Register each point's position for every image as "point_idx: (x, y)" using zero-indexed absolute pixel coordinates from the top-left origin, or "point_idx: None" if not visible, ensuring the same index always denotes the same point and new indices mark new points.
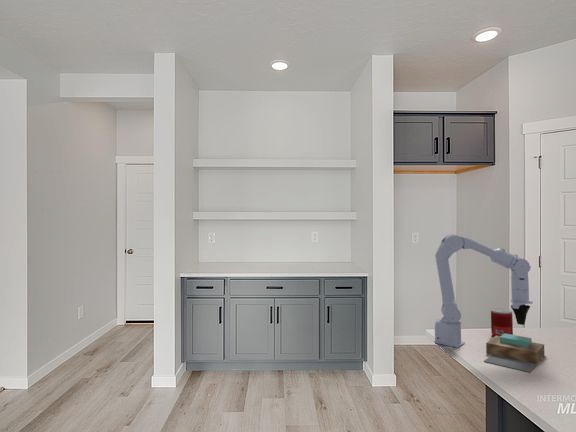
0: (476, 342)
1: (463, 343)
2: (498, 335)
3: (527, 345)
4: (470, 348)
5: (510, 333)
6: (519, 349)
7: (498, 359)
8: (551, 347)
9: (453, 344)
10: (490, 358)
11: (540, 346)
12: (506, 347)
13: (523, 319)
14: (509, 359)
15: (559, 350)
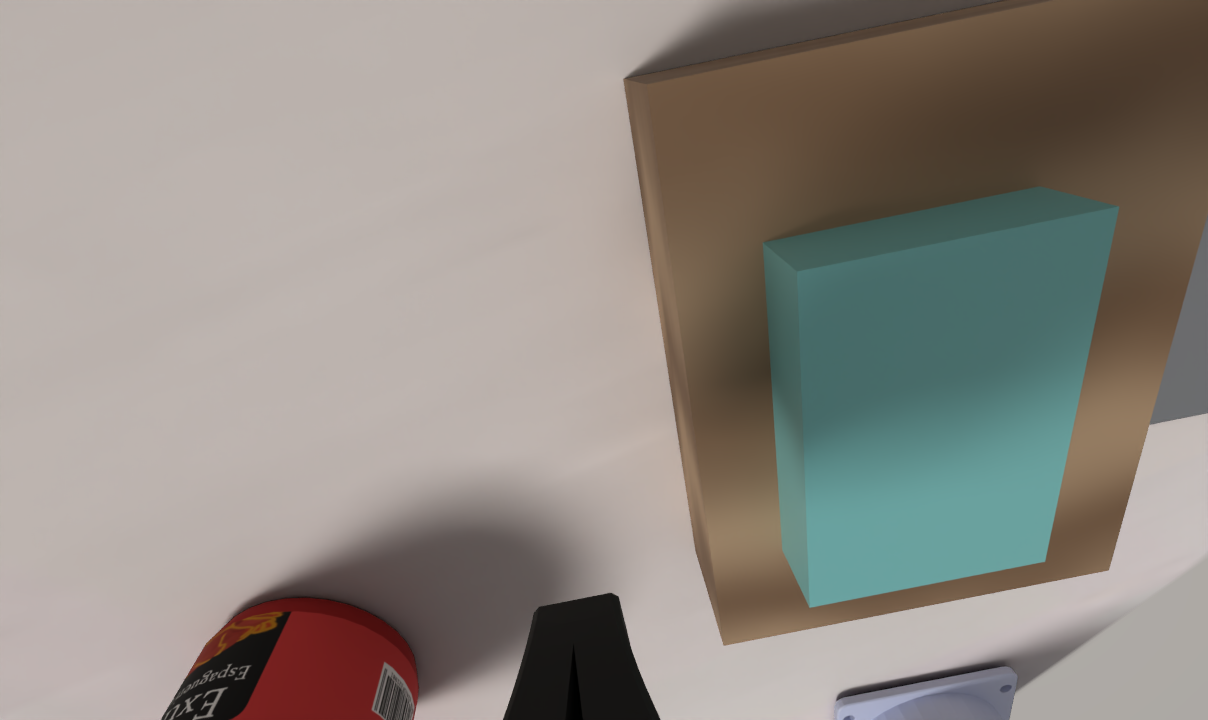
0: (732, 670)
1: (882, 694)
2: (412, 676)
3: (1067, 194)
4: (947, 616)
5: (294, 644)
6: (1202, 223)
7: (1181, 337)
8: (154, 171)
9: (995, 709)
10: (1191, 394)
11: (832, 73)
12: (1150, 376)
13: (646, 716)
14: None
15: (175, 26)
